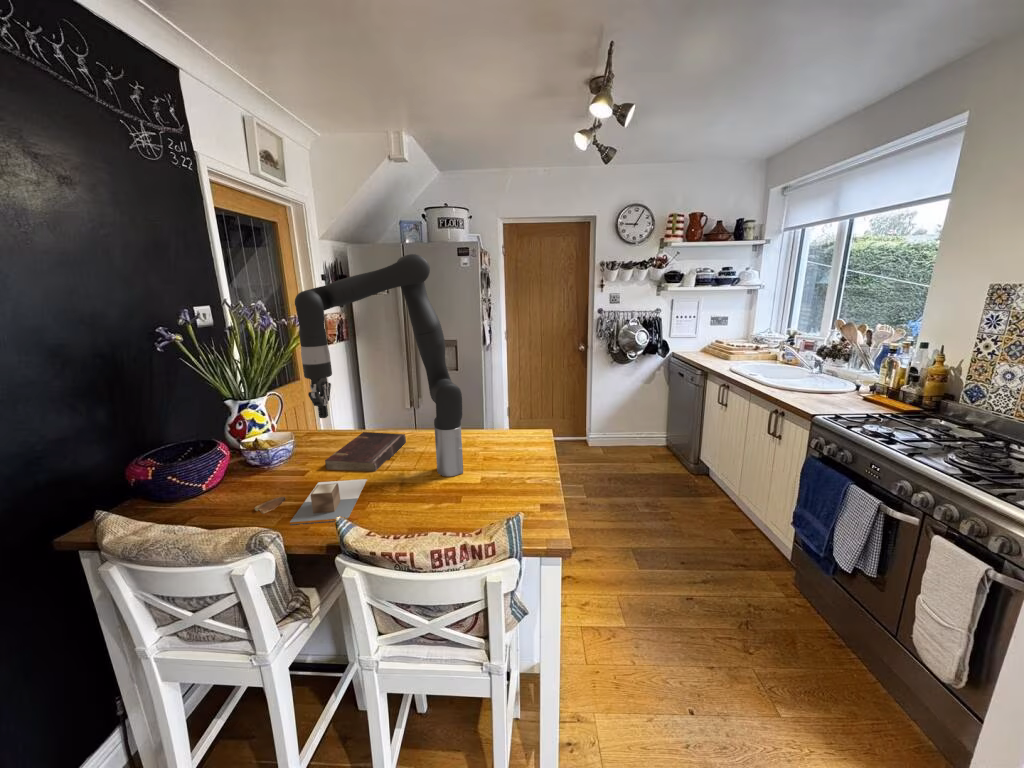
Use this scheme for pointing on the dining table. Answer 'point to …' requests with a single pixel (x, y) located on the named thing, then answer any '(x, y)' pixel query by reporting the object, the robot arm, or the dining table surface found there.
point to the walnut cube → (325, 498)
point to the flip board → (347, 502)
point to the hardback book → (366, 452)
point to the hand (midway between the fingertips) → (323, 417)
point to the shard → (270, 505)
